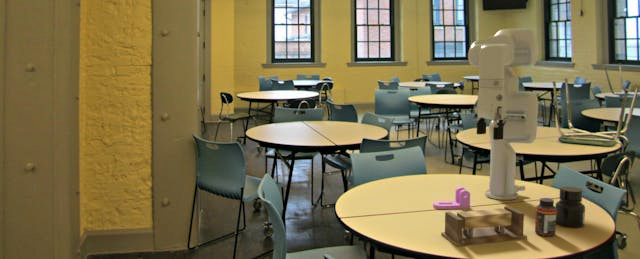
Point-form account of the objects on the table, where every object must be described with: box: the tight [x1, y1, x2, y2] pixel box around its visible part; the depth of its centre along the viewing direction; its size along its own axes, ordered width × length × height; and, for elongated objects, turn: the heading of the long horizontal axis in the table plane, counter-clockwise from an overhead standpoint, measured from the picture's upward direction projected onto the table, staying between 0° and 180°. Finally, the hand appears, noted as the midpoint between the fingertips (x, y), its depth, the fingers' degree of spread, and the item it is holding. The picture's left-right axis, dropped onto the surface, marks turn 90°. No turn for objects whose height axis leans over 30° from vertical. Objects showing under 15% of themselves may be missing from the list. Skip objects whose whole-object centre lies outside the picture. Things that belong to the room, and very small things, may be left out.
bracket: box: [432, 186, 471, 210], centre depth 192 cm, size 13×6×7 cm, turn 93°
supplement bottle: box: [534, 197, 557, 237], centre depth 161 cm, size 6×6×11 cm
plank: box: [456, 207, 512, 230], centre depth 159 cm, size 16×5×4 cm, turn 104°
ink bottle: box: [554, 186, 586, 228], centre depth 170 cm, size 10×9×12 cm
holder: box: [440, 205, 528, 247], centre depth 159 cm, size 24×10×8 cm, turn 104°
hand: (489, 136), depth 166 cm, fingers open, 9 cm apart
